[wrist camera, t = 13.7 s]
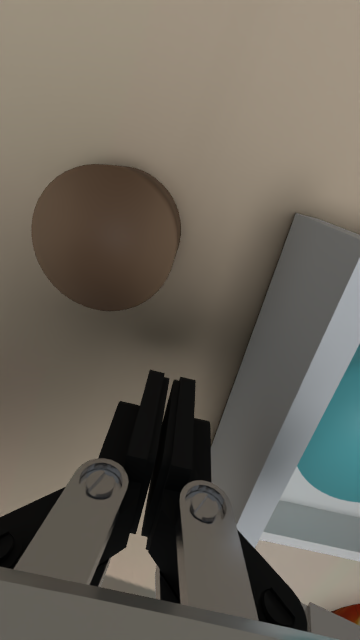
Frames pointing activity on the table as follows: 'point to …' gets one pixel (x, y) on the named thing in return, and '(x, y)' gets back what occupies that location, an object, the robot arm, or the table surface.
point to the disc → (337, 441)
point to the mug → (350, 613)
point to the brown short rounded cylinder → (106, 235)
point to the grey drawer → (293, 395)
